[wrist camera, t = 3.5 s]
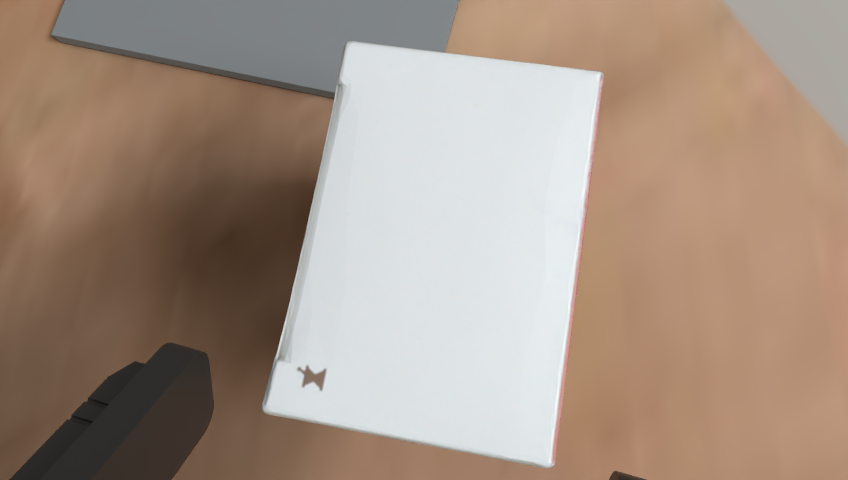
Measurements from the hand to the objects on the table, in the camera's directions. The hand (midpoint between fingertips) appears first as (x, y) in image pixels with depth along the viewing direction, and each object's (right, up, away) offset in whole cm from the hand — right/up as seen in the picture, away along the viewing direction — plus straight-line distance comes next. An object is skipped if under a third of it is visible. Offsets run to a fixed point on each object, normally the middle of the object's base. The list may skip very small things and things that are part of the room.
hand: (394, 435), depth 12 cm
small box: (+2, +2, +10) cm, 11 cm away
